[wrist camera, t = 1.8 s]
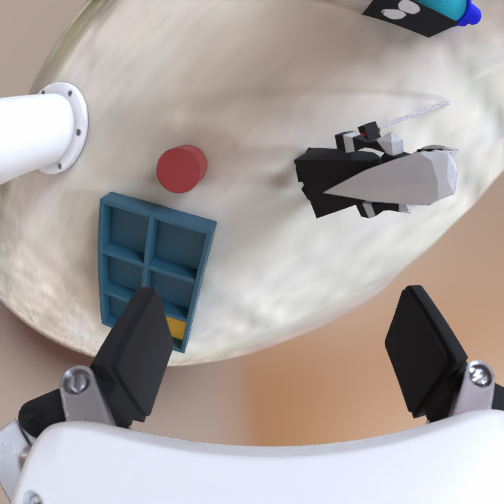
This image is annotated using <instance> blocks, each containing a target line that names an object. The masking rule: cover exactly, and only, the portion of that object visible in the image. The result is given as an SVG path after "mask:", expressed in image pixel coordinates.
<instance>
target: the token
mask: <svg viewBox="0 0 504 504" xmlns="http://www.w3.org/2000/svg"><path fill="white" fill-rule="evenodd" d="M206 170H207V162H206V158H205V156H204V154H203V153H202V152H201V151H200V150H199V149H198V148H196V147H194V146H191V145H182V146H179V147H176V148H173V149H170V150H168V151H166V152H165V153H164V154H163V155H162V156H161V157H160V159H159V161H158V164H157V177H158V179H159V181H160V183H161V185H162V186H163V187H164V188H166V189H167V190H169V191H171V192H174V193H184V192H187V191H189V190H191V189H192V188H193V187H195V186H196V185H197V184H198V183H199V182H200V181H201V180H202V179H203V177H204V176H205V173H206Z"/></svg>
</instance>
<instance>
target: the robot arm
mask: <svg viewBox="0 0 504 504" xmlns="http://www.w3.org/2000/svg"><path fill="white" fill-rule="evenodd" d="M87 128H88V114H87V108H86V103H85V101H84V98H83V96H82V94H81V93H80V91H79V90H78V89H77V88H76V87H75V86H74V85H72V84H69V83H65V82H55V83H52V84H49V85H47V86H46V87H44V88H43V89H42V90H41V91H39V92H38V94H35V95H23V96H13V97H5V98H0V185H1V184H3V183H5V182H8V181H10V180H12V179H14V178H17V177H19V176H21V175H24V174H26V173H29V172H31V171H34V170H36V169H37V170H38V171H40V172H41V173H44V174H47V175H54V174H58V173H61V172H63V171H65V170H66V169H68V168H69V167H70V166H71V165H72V164H73V163H74V162H75V161H76V159H77V158H78V157H79V155H80V153H81V151H82V149H83V146H84V143H85V140H86V135H87ZM385 347H386V350H387V352H388V355H389V357H390V360H391V363H392V365H393V368H394V371H395V373H396V376H397V379H398V382H399V385H400V388H401V391H402V393H403V396H404V399H405V402H406V406H407V408H408V411H409V412H412V415H413V418H417V417H421V416H424V415H426V417H427V421H426V423H425V425H423V426H419V427H415V428H412V429H407V430H403V431H399V432H396V433H391V434H386V435H381V436H376V437H371V438H366V439H360V440H353V441H346V442H338V443H330V444H319V445H305V446H279V447H263V446H236V445H221V444H211V443H202V442H195V441H188V440H181V439H175V438H169V437H164V436H158V435H153V434H148V433H143V432H139V431H134V430H132V428H131V426H130V425H131V424H132V421H133V420H135V421H139V422H144V421H145V418H146V416H149V415H150V414H151V411H152V408H153V405H154V402H155V399H156V396H157V393H158V390H159V387H160V384H161V381H162V378H163V375H164V372H165V369H166V367H167V364H168V361H169V358H170V355H171V352H172V350H173V339H172V336H171V332H170V329H169V326H168V322H167V319H166V315H165V312H164V308H163V304H162V301H161V297H160V294H159V292H158V291H155V289H154V287H142V286H140V287H138V288H137V290H136V291H135V293H134V294H133V296H132V298H131V299H130V301H129V302H128V304H127V305H126V307H125V308H124V310H123V312H122V313H121V315H120V316H119V318H118V320H117V321H116V323H115V324H114V326H113V328H112V329H111V331H110V333H109V334H108V336H107V338H106V339H105V341H104V343H103V344H102V346H101V348H100V350H99V351H98V353H97V355H96V357H95V358H94V360H93V362H92V364H91V366H90V368H88V367H86V366H74V367H72V368H70V369H68V370H67V371H66V372H65V373H64V374H63V376H62V377H61V379H60V385H59V389H56V390H54V391H52V392H49V393H47V394H45V395H42V396H40V397H38V398H35V399H33V400H30V401H28V402H27V403H25V404H24V405H23V406H22V407H21V409H20V411H19V415H18V421H17V420H16V419H14V420H12V421H11V422H10V423H8V424H7V425H6V426H5V427H3V428H2V429H1V430H0V485H1V487H2V489H3V490H4V492H5V494H6V496H7V498H8V500H9V501H10V503H11V504H504V387H502V386H500V385H498V384H496V383H495V375H494V372H493V370H492V368H491V367H490V366H489V365H488V364H487V363H485V362H483V361H479V360H474V361H472V362H470V363H469V364H467V362H466V360H467V358H468V356H467V355H466V353H465V351H464V350H463V348H462V346H461V345H460V343H459V341H458V340H457V338H456V336H455V335H454V333H453V331H452V330H451V328H450V327H449V325H448V324H447V322H446V321H445V319H444V318H443V316H442V314H441V313H440V311H439V310H438V309H437V307H436V306H435V304H434V303H433V301H432V300H431V298H430V297H429V296H428V294H427V293H426V291H425V290H424V289H423V287H422V286H421V285H413V286H407V287H406V288H405V290H403V291H402V293H401V296H400V299H399V302H398V305H397V308H396V311H395V314H394V317H393V320H392V323H391V325H390V328H389V331H388V333H387V336H386V339H385Z"/></svg>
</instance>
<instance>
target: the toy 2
mask: <svg viewBox="0 0 504 504" xmlns="http://www.w3.org/2000/svg"><path fill="white" fill-rule="evenodd" d="M451 103H453V102H445V103H442V104H438V105H435V106H432V107H429V108H426V109H423V110H420V111H418V112H415V113H412V114H409V115H407V116H404V117H401V118H398V119H396V120H393V121H391V122H388V123H385V124H383V125H380V126H378V125H377V124H376V121H375V122H371V123H368V124H365V125H363V126H360V127H358V129H359V132H360V133H358V132H355V131H351V132H343V133H340V134H337V135H335V139H336V145H337V149H329V148H308V150H307V151H306V153H305V154H304V155H302V156H300V157H299V158H297V159H295V160H294V162H295V165H296V172H297V177H298V182H303V184H304V186H303V188H302V191H303V192H304V194H305V195H306V197H307V199H308V200H310V202H311V205H312V207H313V210H314V212H315V215H316V218H319V217H322V216H325V215H328V214H331V213H334V212H336V211H339V210H342V209H345V208H348V207H350V206H353V205H356V206H357V208H358V210H359V213H360V215H361V216H362V217H366V218H371V217H374V216H376V215H378V214H379V213H381V212H382V211H384V210H391V211H397V212H405V213H411V212H412V210H413V209H414V207H415V205H430V204H432V203H434V202H436V201H438V200H440V199H442V198H445V197H447V196H450V195H453V194H454V193H455V188H456V182H457V176H458V171H457V166H456V165H455V163H454V161H453V160H452V157H453V156H454V155H456V153H457V152H458V151H459V150H458V149H455V148H451V147H446V146H441V145H430V146H426V147H423V148H421V149H417V151H416V152H414V153H413V154H409V153H405V152H403V140H401V139H400V138H399V137H397V136H396V135H394V134H393V133H392V132H390V133H389V134H387V135H385V136H384V137H382V138H380V137H381V136H380V131H381V129H383V128H386V127H388V126H391V125H393V124H396V123H398V122H401V121H403V120H406V119H409V118H411V117H414V116H417V115H419V114H422V113H425V112H427V111H430V110H433V109H436V108H439V107H442V106H446V105H449V104H451ZM378 138H380V139H378ZM375 139H377V140H375ZM373 140H374V141H373ZM365 147H366V148H372V149H375V150H378V151H381V152H384V154H383V155H382V156H381V157H379V156H378V155H377V154H375V153H374V152H365V151H357V150H360V149H362V148H365ZM443 150H447V151H452V152H449V153H448V152H446V151H443ZM385 202H386V203H385Z"/></svg>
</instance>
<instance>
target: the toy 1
mask: <svg viewBox="0 0 504 504" xmlns="http://www.w3.org/2000/svg"><path fill="white" fill-rule="evenodd" d="M417 1H418V2H419V3H418V2H415V1H413V0H373V1H372V2H371V4H370V5H369V6H368V7H367V9H366V10H365V11H364V13H363V15H366V16H370V17H373V18H377V19H380V20H383V21H386V22H389V23H392V24H395V25H398V26H401V27H404V28H406V29H409V30H412V31H414V32H417V33H419V34H421V35H424V36H426V37H428V38H429V37H431V36H433V35H436V34H438V33H440V32H442V31H444V30H447V29H449V28H451V27H455V26H458V25H459V26H466V25H467V24H468V23H469V24H471V25H474V24H477V23H478V22H479V21H480V19H481V12H480V10H479V9H478V8H477V7H476V6H475V5H473V4H472V3H471V0H417Z"/></svg>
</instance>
